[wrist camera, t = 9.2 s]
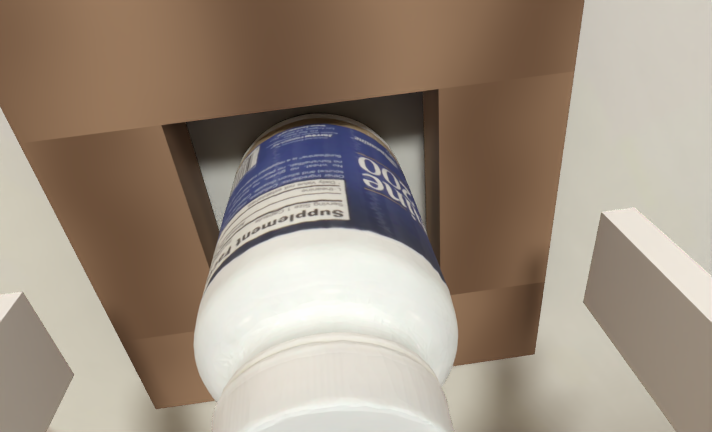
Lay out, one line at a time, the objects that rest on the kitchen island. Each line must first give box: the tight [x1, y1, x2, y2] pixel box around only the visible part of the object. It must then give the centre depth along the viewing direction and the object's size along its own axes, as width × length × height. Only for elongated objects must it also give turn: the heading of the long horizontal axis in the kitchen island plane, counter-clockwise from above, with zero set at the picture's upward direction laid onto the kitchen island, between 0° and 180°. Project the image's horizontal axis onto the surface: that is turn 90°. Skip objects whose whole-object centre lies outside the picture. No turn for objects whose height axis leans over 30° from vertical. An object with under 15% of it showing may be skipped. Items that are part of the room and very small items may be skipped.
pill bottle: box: [194, 113, 458, 432], centre depth 12 cm, size 5×5×10 cm
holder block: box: [0, 0, 584, 409], centre depth 15 cm, size 14×14×2 cm
